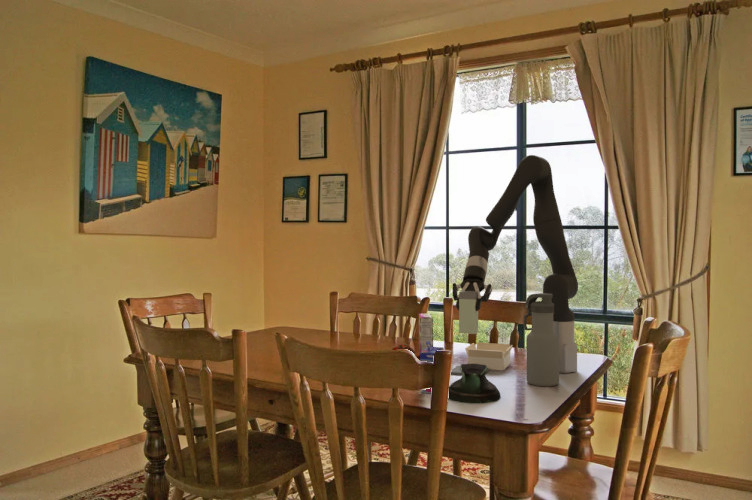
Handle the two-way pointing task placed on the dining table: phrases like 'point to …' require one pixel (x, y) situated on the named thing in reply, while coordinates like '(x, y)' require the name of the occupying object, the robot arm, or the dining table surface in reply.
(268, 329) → the dining table surface
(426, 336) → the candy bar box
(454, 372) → the felt mat
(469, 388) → the dark green flared pedestal
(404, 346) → the dragon fruit
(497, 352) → the cream storage bin
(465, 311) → the sage box
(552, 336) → the water bottle
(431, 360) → the ink cartridge box
